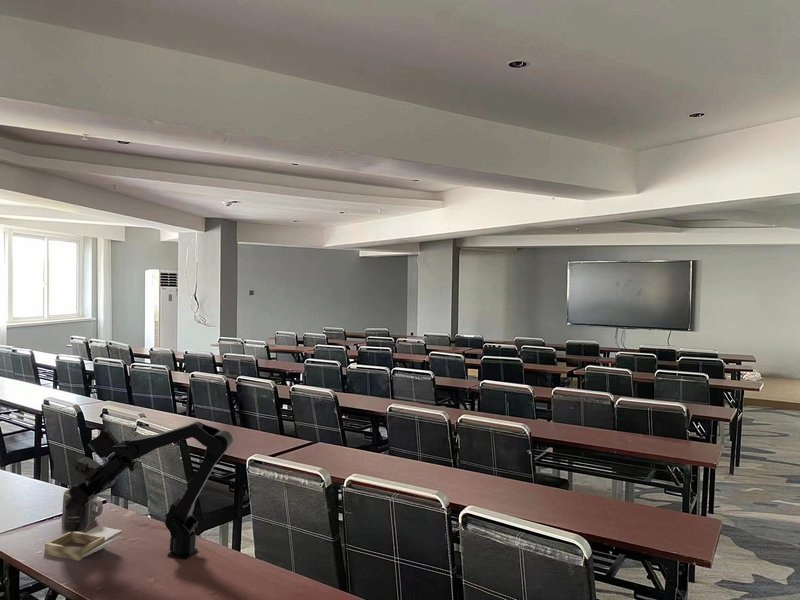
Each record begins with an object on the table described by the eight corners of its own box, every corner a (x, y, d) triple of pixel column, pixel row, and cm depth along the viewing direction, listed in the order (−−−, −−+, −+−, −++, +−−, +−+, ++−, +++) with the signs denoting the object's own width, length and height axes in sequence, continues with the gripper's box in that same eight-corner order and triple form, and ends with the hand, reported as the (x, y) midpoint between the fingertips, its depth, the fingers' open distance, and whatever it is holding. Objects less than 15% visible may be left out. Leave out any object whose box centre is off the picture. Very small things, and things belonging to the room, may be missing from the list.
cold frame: (104, 546, 176) (104, 536, 176) (79, 560, 166) (79, 550, 166) (70, 540, 178) (71, 530, 178) (44, 553, 169) (44, 543, 169)
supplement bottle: (68, 534, 169) (70, 493, 169) (58, 527, 173) (61, 487, 173) (92, 528, 174) (95, 488, 174) (83, 521, 178) (85, 483, 178)
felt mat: (121, 531, 187) (122, 530, 187) (101, 542, 178) (101, 541, 178) (98, 527, 189) (98, 526, 189) (77, 538, 180) (77, 536, 180)
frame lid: (121, 550, 174) (122, 535, 174) (100, 562, 165) (101, 546, 165) (100, 546, 175) (101, 531, 175) (79, 558, 167) (80, 542, 167)
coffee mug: (54, 522, 190) (56, 492, 190) (82, 513, 199) (84, 484, 199) (82, 531, 185) (84, 500, 185) (109, 521, 194) (111, 492, 194)
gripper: (108, 441, 183) (70, 474, 182) (77, 458, 164) (36, 495, 164) (132, 467, 183) (94, 500, 183) (104, 487, 165) (62, 524, 164)
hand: (72, 504), depth 173 cm, fingers closed on supplement bottle, 7 cm apart
